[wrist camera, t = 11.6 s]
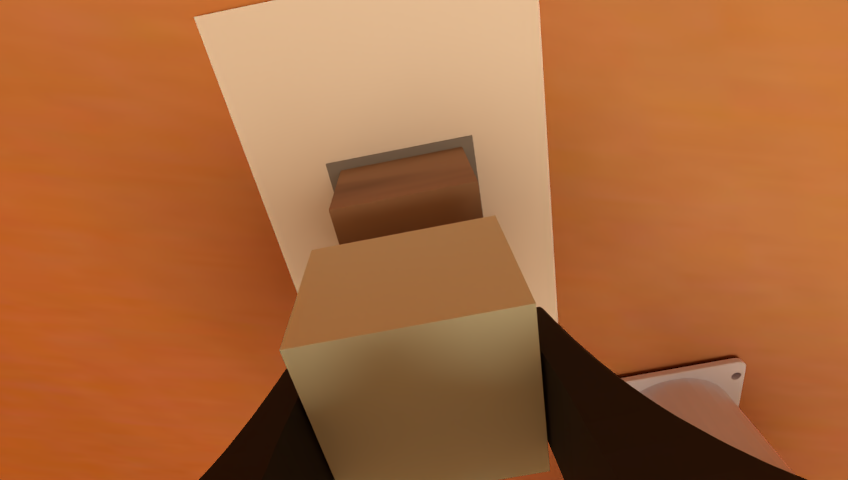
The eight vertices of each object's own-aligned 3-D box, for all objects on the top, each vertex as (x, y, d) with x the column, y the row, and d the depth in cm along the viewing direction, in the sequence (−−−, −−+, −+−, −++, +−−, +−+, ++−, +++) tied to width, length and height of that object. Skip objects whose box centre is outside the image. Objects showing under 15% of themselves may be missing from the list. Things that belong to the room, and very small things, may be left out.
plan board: (557, 344, 24) (560, 350, 24) (334, 384, 25) (333, 391, 24) (532, -54, 16) (536, -55, 16) (197, 16, 16) (192, 16, 16)
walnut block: (477, 252, 21) (495, 304, 17) (369, 273, 21) (365, 328, 18) (462, 146, 19) (477, 181, 15) (340, 170, 19) (328, 210, 15)
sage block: (512, 356, 15) (550, 471, 11) (357, 384, 15) (346, 505, 11) (495, 215, 12) (535, 303, 9) (311, 250, 12) (279, 350, 9)
